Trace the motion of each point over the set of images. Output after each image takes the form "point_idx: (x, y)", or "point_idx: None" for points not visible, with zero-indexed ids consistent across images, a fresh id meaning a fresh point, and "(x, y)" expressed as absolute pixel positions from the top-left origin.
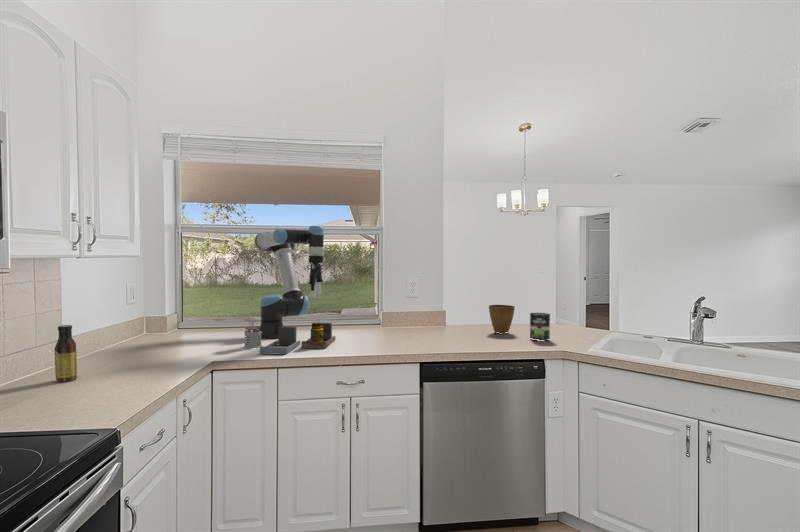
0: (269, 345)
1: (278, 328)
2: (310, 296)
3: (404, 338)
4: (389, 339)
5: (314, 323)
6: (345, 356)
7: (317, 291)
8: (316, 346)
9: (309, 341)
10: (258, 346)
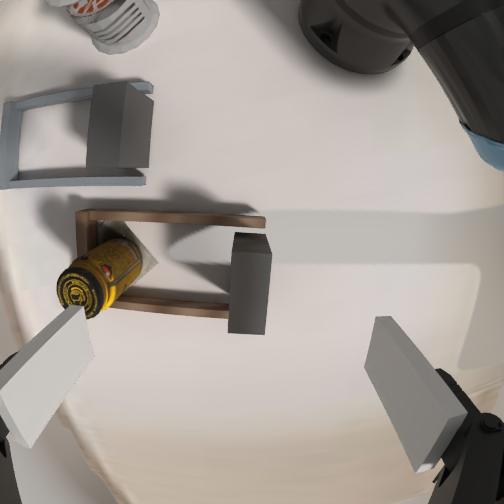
0: (54, 100)
1: (95, 86)
2: (68, 310)
3: (286, 475)
4: (273, 452)
5: (73, 283)
6: None
7: (384, 351)
8: None
9: (81, 244)
10: (105, 44)
